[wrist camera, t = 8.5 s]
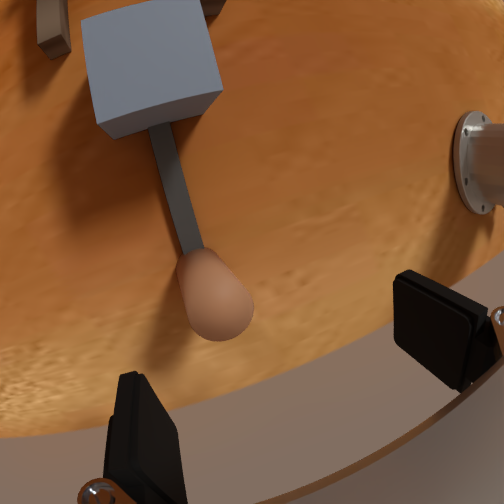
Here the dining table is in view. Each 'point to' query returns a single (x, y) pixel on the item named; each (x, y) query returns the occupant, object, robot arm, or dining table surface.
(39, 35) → the dark u-shaped frame
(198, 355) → the dining table surface
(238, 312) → the block
